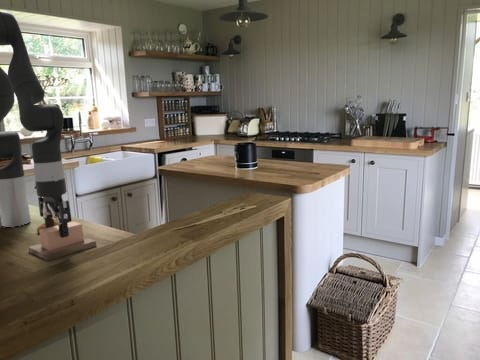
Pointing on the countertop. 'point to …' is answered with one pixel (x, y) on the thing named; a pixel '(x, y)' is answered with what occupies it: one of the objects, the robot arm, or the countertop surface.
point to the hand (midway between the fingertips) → (57, 234)
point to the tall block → (53, 239)
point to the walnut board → (61, 249)
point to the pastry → (45, 226)
